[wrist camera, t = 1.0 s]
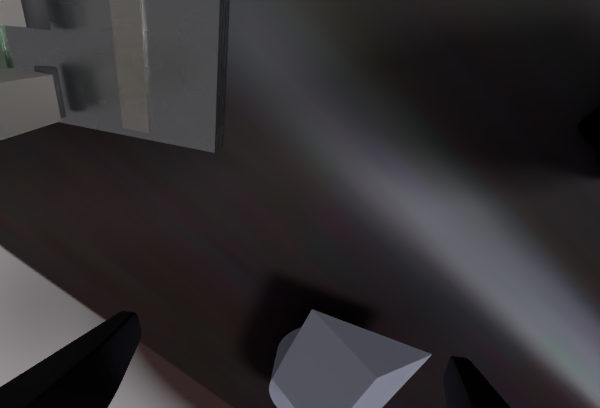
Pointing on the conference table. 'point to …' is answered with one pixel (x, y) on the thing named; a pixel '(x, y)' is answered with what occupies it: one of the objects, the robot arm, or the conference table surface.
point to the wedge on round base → (339, 366)
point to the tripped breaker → (29, 100)
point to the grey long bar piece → (24, 14)
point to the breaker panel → (134, 66)
